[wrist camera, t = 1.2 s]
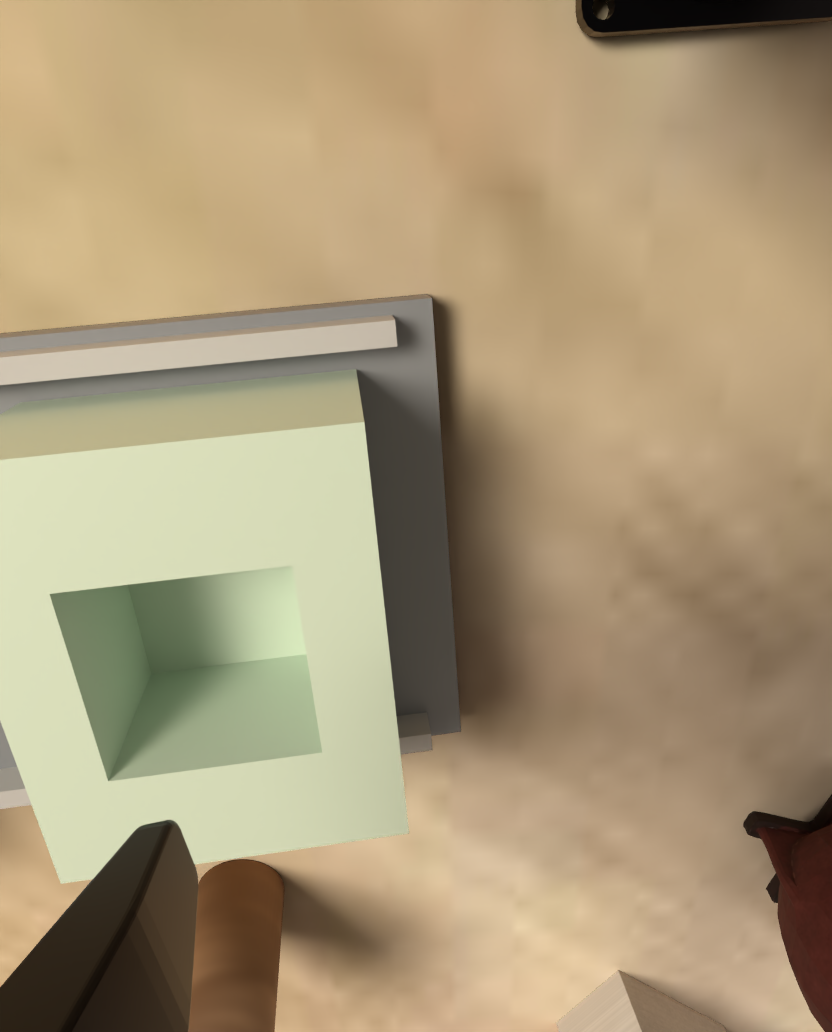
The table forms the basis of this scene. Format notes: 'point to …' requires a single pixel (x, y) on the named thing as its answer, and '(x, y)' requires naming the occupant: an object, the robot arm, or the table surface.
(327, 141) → the table surface
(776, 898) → the mate gourd
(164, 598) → the sliding block
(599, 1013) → the tea bag
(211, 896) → the walnut peg
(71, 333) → the guide board
